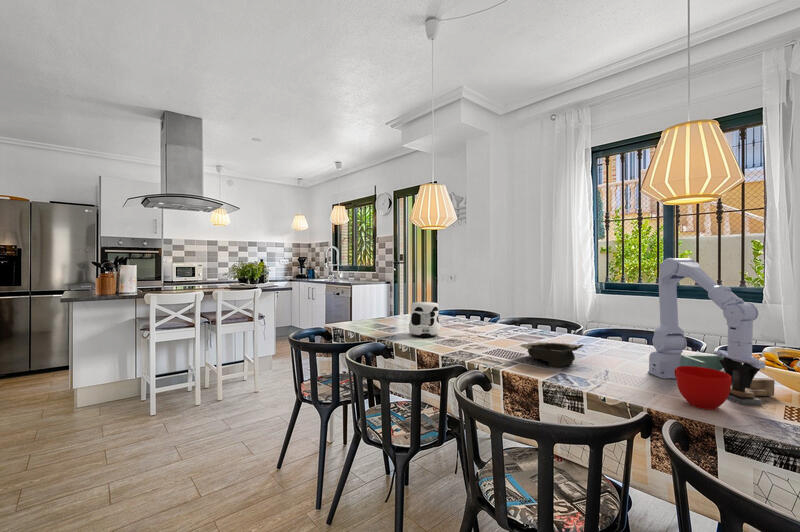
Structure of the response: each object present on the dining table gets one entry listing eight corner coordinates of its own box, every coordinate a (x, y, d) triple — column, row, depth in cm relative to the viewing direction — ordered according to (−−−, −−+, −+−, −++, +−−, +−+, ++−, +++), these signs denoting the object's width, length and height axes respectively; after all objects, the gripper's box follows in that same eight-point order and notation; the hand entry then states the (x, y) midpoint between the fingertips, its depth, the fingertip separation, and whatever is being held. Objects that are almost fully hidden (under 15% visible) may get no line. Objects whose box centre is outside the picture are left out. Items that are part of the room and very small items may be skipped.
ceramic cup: (694, 393, 124) (695, 362, 124) (743, 414, 107) (744, 379, 107) (656, 393, 123) (656, 362, 123) (698, 414, 107) (699, 379, 106)
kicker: (740, 401, 115) (740, 373, 115) (720, 393, 122) (721, 366, 122) (790, 401, 116) (791, 373, 115) (768, 393, 123) (768, 367, 122)
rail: (741, 404, 114) (742, 399, 114) (693, 384, 132) (693, 380, 132) (761, 404, 114) (761, 400, 114) (710, 384, 132) (710, 380, 132)
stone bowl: (575, 373, 143) (574, 349, 144) (511, 367, 158) (510, 344, 159) (589, 359, 163) (587, 337, 163) (531, 354, 178) (529, 334, 178)
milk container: (424, 331, 225) (425, 301, 225) (446, 336, 212) (446, 303, 212) (402, 335, 214) (402, 303, 214) (423, 340, 201) (423, 306, 201)
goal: (700, 381, 135) (701, 362, 135) (679, 373, 145) (680, 354, 145) (742, 381, 136) (742, 362, 136) (718, 373, 146) (719, 355, 146)
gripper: (775, 347, 111) (774, 393, 111) (731, 337, 125) (730, 377, 126) (751, 347, 111) (750, 393, 111) (710, 336, 125) (709, 377, 126)
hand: (738, 385), depth 118 cm, fingers open, 4 cm apart
